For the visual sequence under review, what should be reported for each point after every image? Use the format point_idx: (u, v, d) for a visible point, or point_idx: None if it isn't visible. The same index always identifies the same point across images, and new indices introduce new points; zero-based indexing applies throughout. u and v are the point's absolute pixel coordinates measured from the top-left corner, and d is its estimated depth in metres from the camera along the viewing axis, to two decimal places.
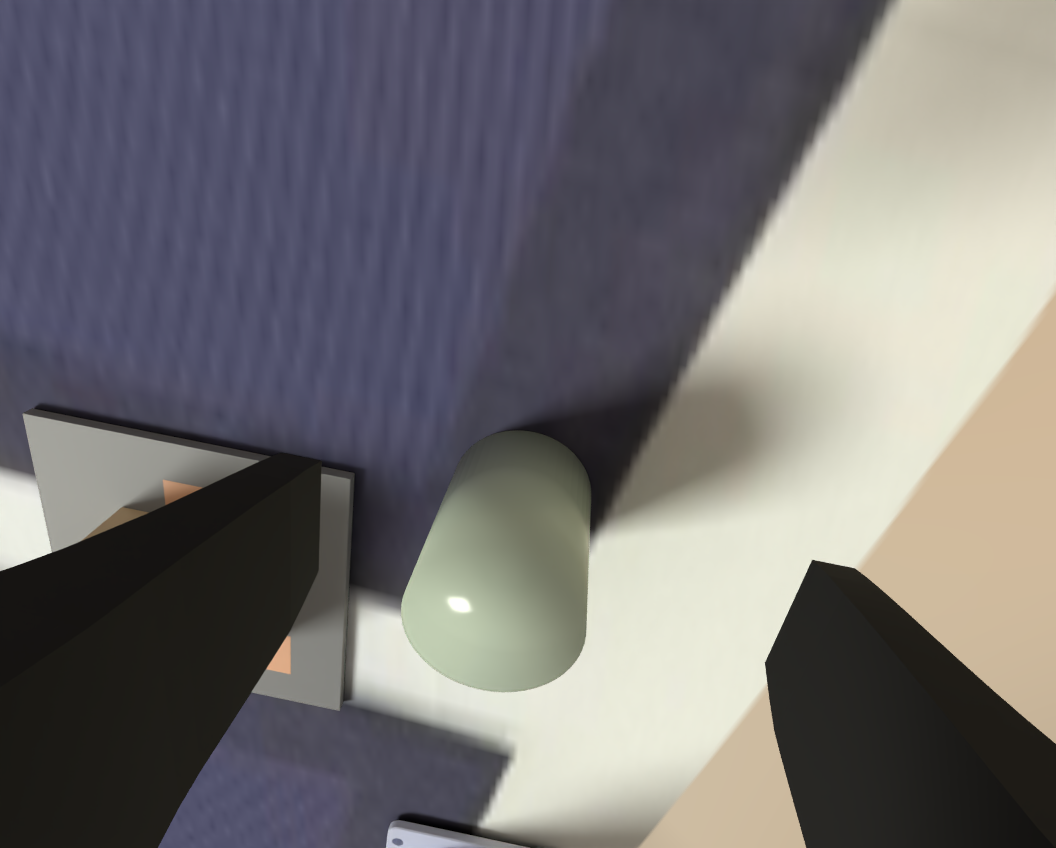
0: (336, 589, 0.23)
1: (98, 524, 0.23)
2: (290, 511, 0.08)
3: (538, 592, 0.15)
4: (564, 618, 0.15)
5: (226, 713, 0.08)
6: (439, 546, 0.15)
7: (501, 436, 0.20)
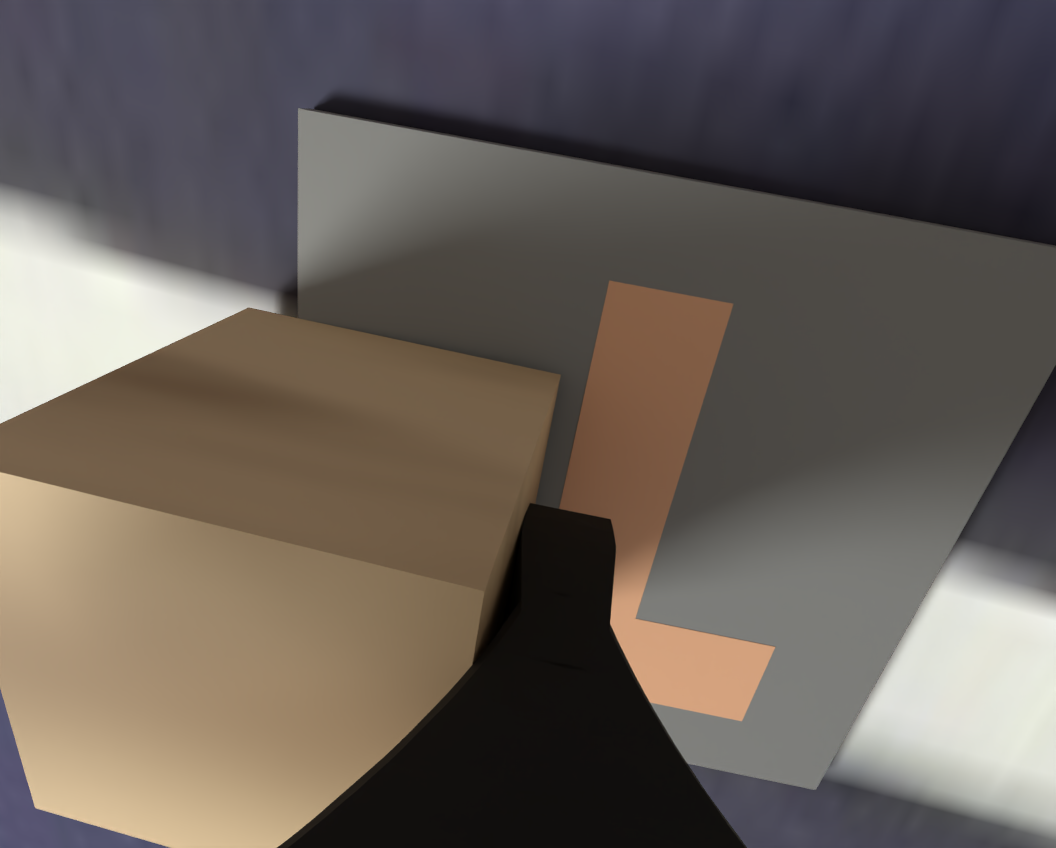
0: (933, 543, 0.11)
1: None
2: None
3: None
4: None
5: None
6: None
7: None
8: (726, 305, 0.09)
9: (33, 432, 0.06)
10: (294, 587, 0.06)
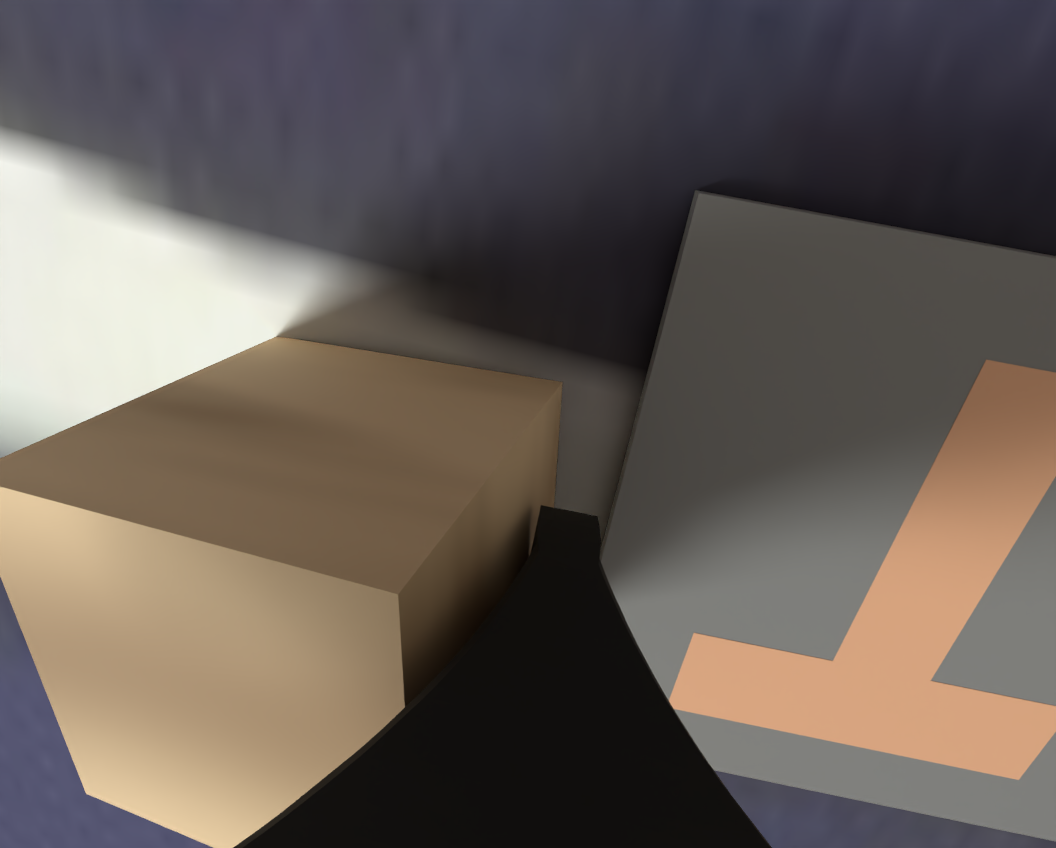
0: None
1: (753, 472, 0.10)
2: None
3: None
4: None
5: None
6: None
7: None
8: None
9: (49, 454, 0.07)
10: (240, 590, 0.06)
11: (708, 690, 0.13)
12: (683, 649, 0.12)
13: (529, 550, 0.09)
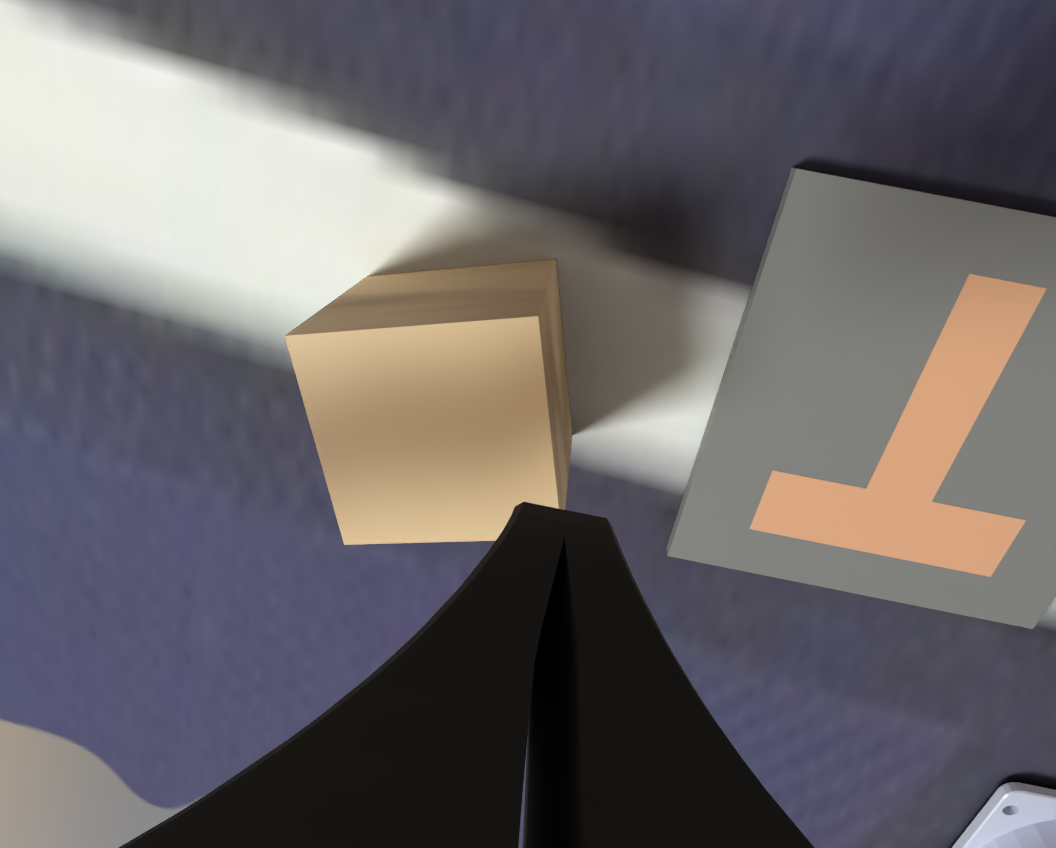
0: None
1: (820, 351, 0.16)
2: (556, 565, 0.08)
3: None
4: None
5: None
6: None
7: None
8: (1041, 289, 0.15)
9: (315, 324, 0.13)
10: (456, 345, 0.12)
11: (779, 514, 0.18)
12: (765, 483, 0.18)
13: (560, 356, 0.16)
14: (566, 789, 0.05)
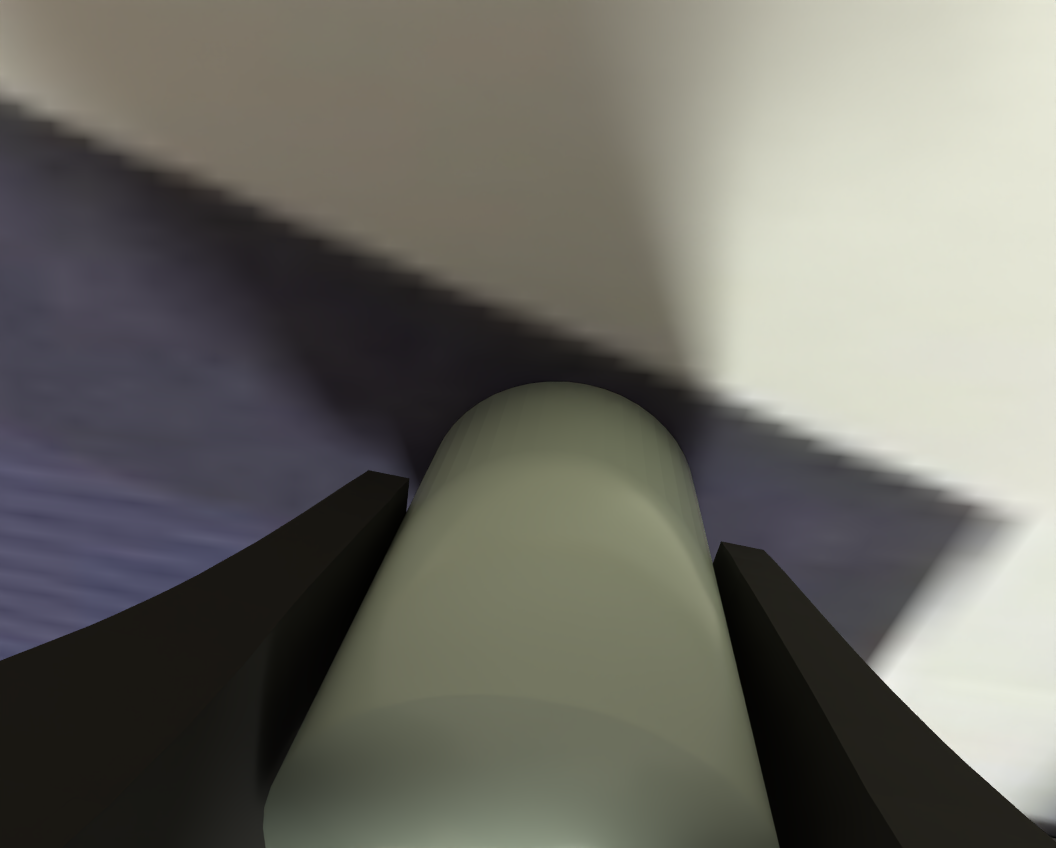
0: None
1: None
2: (386, 530, 0.08)
3: (383, 787, 0.05)
4: (463, 738, 0.05)
5: None
6: None
7: None
8: None
9: None
10: None
11: None
12: None
13: None
14: None
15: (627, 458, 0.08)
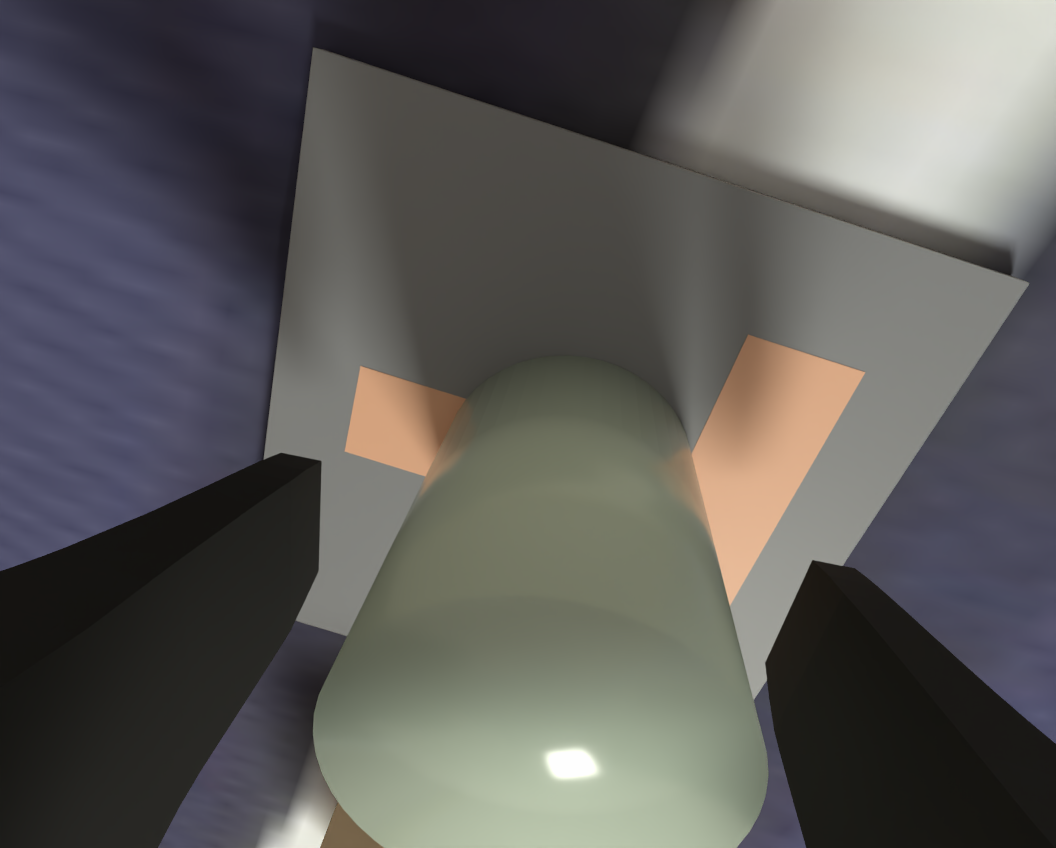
0: (620, 173, 0.10)
1: None
2: (290, 511, 0.08)
3: (414, 687, 0.06)
4: (482, 639, 0.06)
5: (226, 713, 0.08)
6: None
7: None
8: (362, 370, 0.11)
9: None
10: None
11: None
12: None
13: None
14: None
15: (623, 416, 0.09)
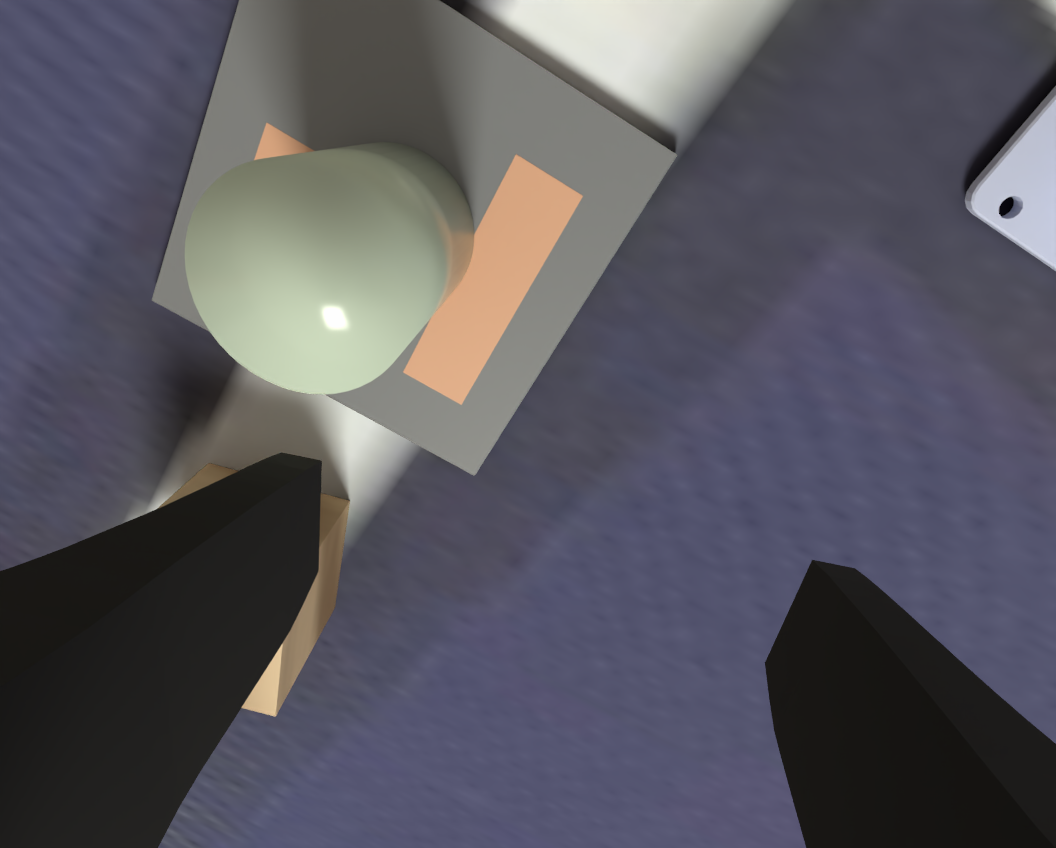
0: (449, 24, 0.15)
1: None
2: (290, 511, 0.08)
3: (244, 214, 0.12)
4: (281, 185, 0.11)
5: (226, 713, 0.08)
6: None
7: None
8: (267, 126, 0.17)
9: None
10: None
11: (451, 377, 0.19)
12: (415, 381, 0.20)
13: None
14: None
15: (416, 166, 0.15)
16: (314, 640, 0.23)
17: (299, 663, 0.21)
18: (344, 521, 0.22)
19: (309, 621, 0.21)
